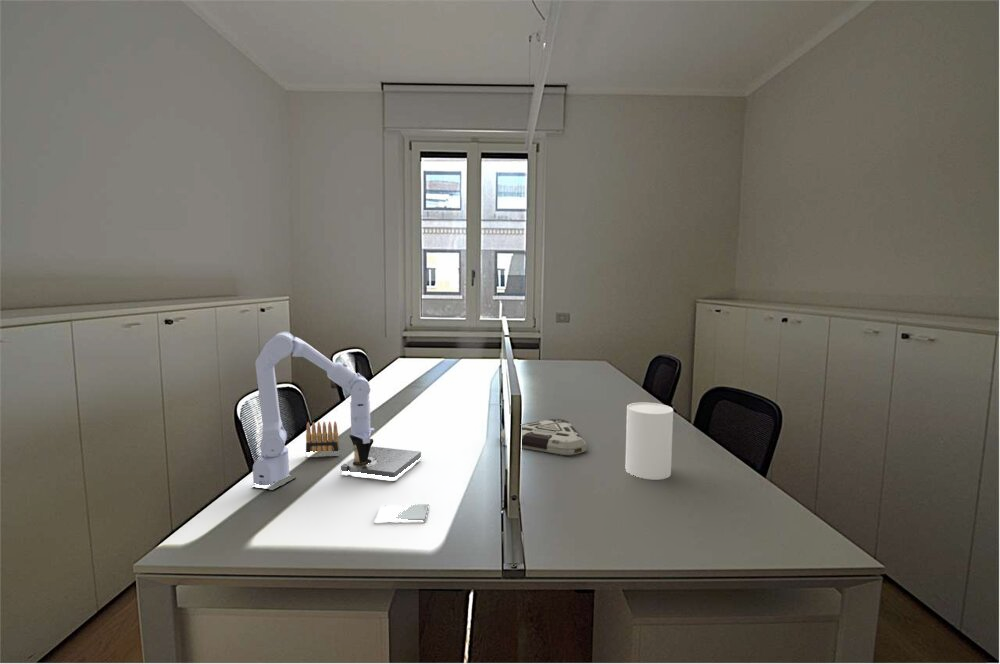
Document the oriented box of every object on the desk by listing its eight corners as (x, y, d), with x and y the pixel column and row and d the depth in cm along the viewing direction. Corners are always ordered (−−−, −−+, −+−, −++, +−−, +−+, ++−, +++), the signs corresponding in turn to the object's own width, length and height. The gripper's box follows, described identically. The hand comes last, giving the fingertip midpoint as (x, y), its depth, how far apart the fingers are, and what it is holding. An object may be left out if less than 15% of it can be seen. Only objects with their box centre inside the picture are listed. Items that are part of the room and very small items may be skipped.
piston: (363, 469, 148) (363, 447, 147) (351, 467, 149) (351, 445, 148) (370, 465, 152) (370, 443, 151) (359, 463, 153) (359, 441, 152)
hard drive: (428, 503, 127) (381, 503, 127) (425, 518, 119) (374, 519, 119) (429, 509, 127) (381, 509, 127) (425, 525, 119) (374, 525, 119)
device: (492, 444, 177) (492, 431, 176) (524, 425, 200) (524, 413, 200) (579, 460, 161) (579, 445, 161) (602, 436, 185) (602, 424, 185)
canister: (669, 465, 156) (671, 403, 154) (672, 481, 143) (674, 415, 141) (625, 460, 159) (627, 401, 157) (624, 476, 146) (626, 412, 144)
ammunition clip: (305, 457, 163) (304, 422, 161) (307, 455, 164) (305, 421, 163) (338, 456, 164) (337, 422, 162) (339, 454, 165) (338, 420, 164)
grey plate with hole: (394, 482, 143) (394, 472, 142) (341, 475, 148) (340, 466, 147) (421, 460, 160) (420, 451, 160) (372, 455, 165) (372, 446, 165)
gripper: (379, 420, 145) (381, 464, 146) (367, 409, 157) (369, 450, 159) (355, 424, 141) (357, 469, 143) (345, 412, 154) (346, 453, 155)
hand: (361, 459), depth 150 cm, fingers closed on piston, 4 cm apart
